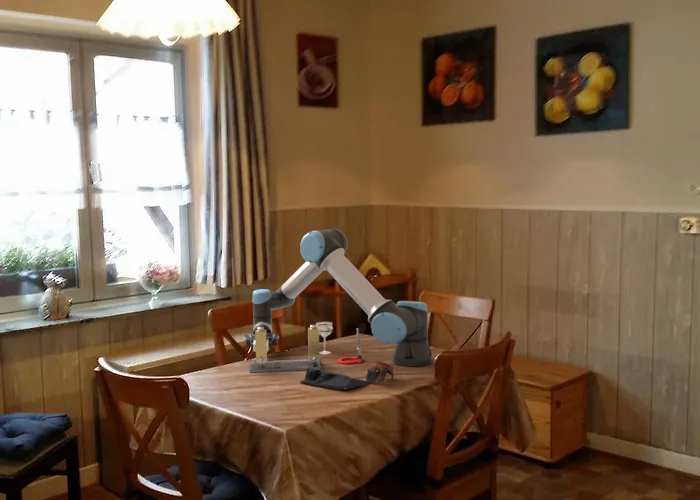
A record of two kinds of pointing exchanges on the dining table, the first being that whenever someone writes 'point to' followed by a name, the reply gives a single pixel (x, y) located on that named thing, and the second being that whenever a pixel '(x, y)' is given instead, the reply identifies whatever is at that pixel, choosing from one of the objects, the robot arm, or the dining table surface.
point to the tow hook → (356, 359)
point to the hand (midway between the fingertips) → (260, 347)
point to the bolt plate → (297, 363)
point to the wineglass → (324, 332)
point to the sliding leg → (261, 345)
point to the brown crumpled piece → (381, 373)
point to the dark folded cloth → (331, 380)
